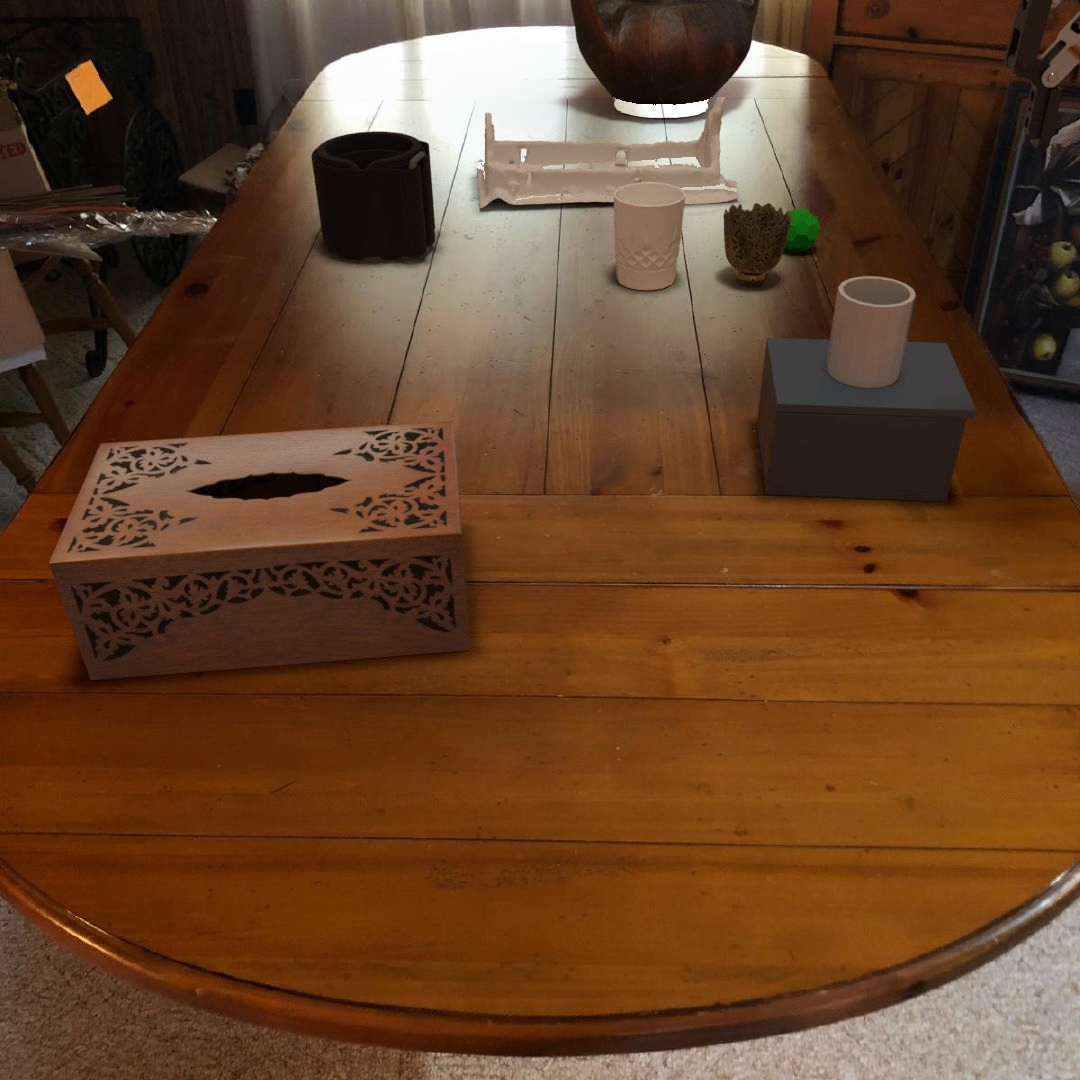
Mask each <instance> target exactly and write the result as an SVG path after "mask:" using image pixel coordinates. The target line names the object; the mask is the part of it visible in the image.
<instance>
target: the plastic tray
mask: <svg viewBox="0 0 1080 1080" xmlns="http://www.w3.org/2000/svg"><path fill="white" fill-rule="evenodd" d="M726 98H727V97H726V96H719V97H716V98H715V103H714V107H712V109H711V110H710V111H709V112H708V114H707V117H706V119H705V122H704V128H703V131H702V132H701V134H700V136H699V138H698V139H695V140H690V141H677V142H676V141H672V140H664V141H657V142H654V143H633V144H623V143H620V142H615V141H600V140H593V141H586V142H581V141H576V142H575V141H550V140H546V141H545V140H496V136H495V126H494V124H493V121H492V113H491V112H485V114H484V124H485V128H484V160H483V159H479V160H478V161H477V162H483V161H485V163H484V165H482V163H481V165H482V166H483V167H484V171H485V179H484V174H483V173H484V171H483V170H481V169H478V168H477V167H476V170H477V173H476V174H477V180H476V182H477V189H478V198H479V199H478V202H479V204H478V205H479V209H482V208H484V207H486V206H487V205H490V204H491V202H493V201H495V200H497V199H500V200H502V201H504V202H505V203H507V204H510V205H513V206H524V205H544V204H564V203H565V204H566V203H571V204H572V203H591V202H592V203H593V202H594V203H595V202H598V203H614V194H594V195H586V196H581V197H579V198H568V197H565V196H546V197H532V198H528V197H531V196H545V195H556V194H570V196H571V195H577V194H578V193H585V192H586V193H589V192H593V193H594V192H608V193H609V192H615V190H616V189H618V188H619V187H622V186H624V185H628V184H632V183H640V182H657V183H665V184H670V185H673V186H676V187H679V188H683V187H703V186H705V187H706V186H716V185H720V184H721V183H722V184H724V183H725V186H727V187H729V188H732V187H733V188H737V187H738V183H737V182H736V180H733V181H732V180H730V179H726V178H725V176H724V175H723V174H722V173H721V165H720V159H721V158H720V157H721V156H720V155H721V139H720V137H721V136H720V135H721V134H720V133H721V131H722V129H721V127H722V117H723V114H724V109H725V104H726ZM522 150H526V155H522ZM618 152H624V154H625V157H619V156H618V157H616V156H617V154H618ZM521 156H522V157H523V156H524V158H525V161H524V162H521ZM682 157H696V159H697V160H698V162H699V164H700V166H701V167H698V168H697V166H694V165H693V164H691V165H688V164H685V165H683V164H673V165H663V166H662V165H659V164H658V166H659V168H655V166H654V165H647V166H628V162H630V161H641V160H655V159H656V160H655V161H656V162H657V159H660V158H682ZM626 160H627V165H626ZM607 162H615V167H607V168H595V165H593V164H592V163H607ZM577 163H590V168H589V169H582V168H576V169H562V168H561V169H544V168H543V167H546V166H549V165H564V164H577ZM626 168H627V169H629V170H626ZM633 168H635V169H633ZM635 178H636V179H635ZM737 189H738V188H737ZM683 191H684V192H685V203H684V205H700V204H701V205H703V204H704V205H706V204H707V205H708V204H715V203H716V204H717V203H725V202H730V201H733V200H737V199H739V194H738V193H739V191H738V192H734V191H728V190H725V189H704V190H683ZM606 196H607V198H605V197H606ZM518 198H528V199H521V200H517V201H516V199H518ZM558 198H564V199H560V200H557V199H558ZM582 198H585V199H582ZM513 201H515V202H513Z"/></svg>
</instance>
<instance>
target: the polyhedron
mask: <svg viewBox="0 0 1080 1080" xmlns="http://www.w3.org/2000/svg"><path fill="white" fill-rule="evenodd" d="M788 211H789V215H791V218H792V219H791V223H790V227H789V231H788V235H787V239H786V244H785V247H784V248H786V249H788V250H789V251H790V252H791V253H802V252H805V251H807V250H809V249H810V248H812V247H813V246H815V243H816V240H817V238H818V235H819V232H820V229H821V225H820V222H819V219H818V218H817V217H816V216H815V215H813V214H812V213H811V212H809V211H808V210H806V209H805V208H794V209H792V210H788ZM811 245H812V246H811ZM808 246H809V247H808Z"/></svg>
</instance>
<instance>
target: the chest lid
mask: <svg viewBox="0 0 1080 1080" xmlns="http://www.w3.org/2000/svg"><path fill="white" fill-rule="evenodd" d="M829 343H830V339H825V338H823V339H822V338H821V339H820V338H792V337H791V338H789V337H788V338H787V337H767V338H766V342H765V349H766V348H767V355H768V361H769V368H770V374H771V381H772V387H773V394H774V400H775V407H776V411H777V412H799V413H827V414H856V415H884V416H912V417H941V418H966V419H968V420H969V419H970V420H971V419H972V420H973V419H975V418H976V414H977V411H978V410H977V407H976V406H975V404H974V400H973V398H972V396H971V394H970V392H969V390H968V388H967V386H966V384H965V381H964V379H963V377H962V374H961V372H960V370H959V368H958V365H957V363H956V361H955V359H954V356H953V354H952V352H951V350H950V348H949V345H948V343H947V342H925V341H924V342H923V341H922V342H920V341H907V343H906V348H905V353H904V358H903V363H902V368H901V371H900V375H899V378H898V379H897V381H895V382H894V383H892V384H890V385H888V386H884V387H879V388H861V387H855V386H850V385H847V384H844V383H841V382H839V381H837V380H835V379H834V378H832V377H831V376H830V375H829V373H828V372H827V368H826V367H827V356H828V350H829Z"/></svg>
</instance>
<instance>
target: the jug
mask: <svg viewBox="0 0 1080 1080" xmlns="http://www.w3.org/2000/svg"><path fill="white" fill-rule="evenodd" d="M569 1H570V9H571V13H572V18H573V24H574V30H575V40H576V43H577V46H578V49H579V53H580V54H581V56H582V58H583V60H584V62H585V63H586V65H587V67H588V68H589V70H590V71H591V72H592V73H593V75H594V76H595V77H596V79H597V80H598V82H599V83H600V84H601V86H602V87H603V88H604V89H605V91H606V92H607V93H608V94H609V96H611V98H612V97H614V98H616V99H620V100H622V101H626V102H632V103H636V104H653V105H654V104H655V105H656V104H673V105H676V104H686V103H693V102H699V101H704V100H707V99H710V98H711V97H712V98H714V97H715V95H717V94H718V92H719V91H720V90H721V89H722V88H723V87H725V85H726V84H727V83H728V82H729V80H731V79H732V77H733V76H734V75H735V74H736V73H737V72H738V70H739V69H740V67H741V66H742V65H743V62H744V61H745V60H746V58H747V56H748V54H749V52H750V50H751V46H752V42H753V32H754V26H755V23H756V19H757V15H758V11H759V5H760V0H569ZM712 98H711V99H712ZM711 99H710V100H711Z"/></svg>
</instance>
